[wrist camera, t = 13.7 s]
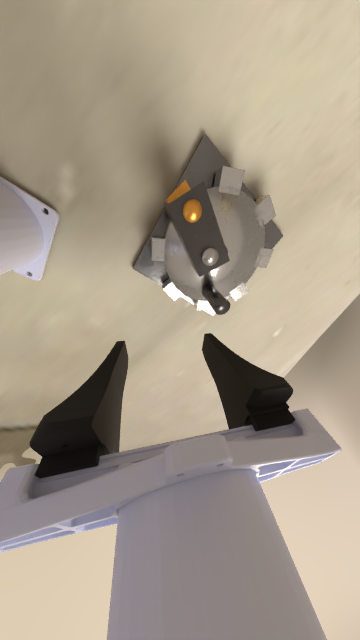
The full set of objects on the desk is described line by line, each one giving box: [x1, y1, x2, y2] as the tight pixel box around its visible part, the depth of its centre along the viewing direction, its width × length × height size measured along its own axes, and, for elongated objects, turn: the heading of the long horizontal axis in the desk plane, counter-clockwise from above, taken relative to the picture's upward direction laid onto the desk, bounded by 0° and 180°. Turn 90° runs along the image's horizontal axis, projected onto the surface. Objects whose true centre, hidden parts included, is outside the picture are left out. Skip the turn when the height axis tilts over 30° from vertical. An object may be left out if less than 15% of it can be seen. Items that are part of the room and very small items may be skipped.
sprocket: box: [151, 166, 276, 315], centre depth 17 cm, size 15×15×6 cm
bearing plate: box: [133, 134, 283, 316], centre depth 19 cm, size 14×14×1 cm
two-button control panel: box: [166, 181, 230, 277], centre depth 14 cm, size 6×3×4 cm, turn 27°
